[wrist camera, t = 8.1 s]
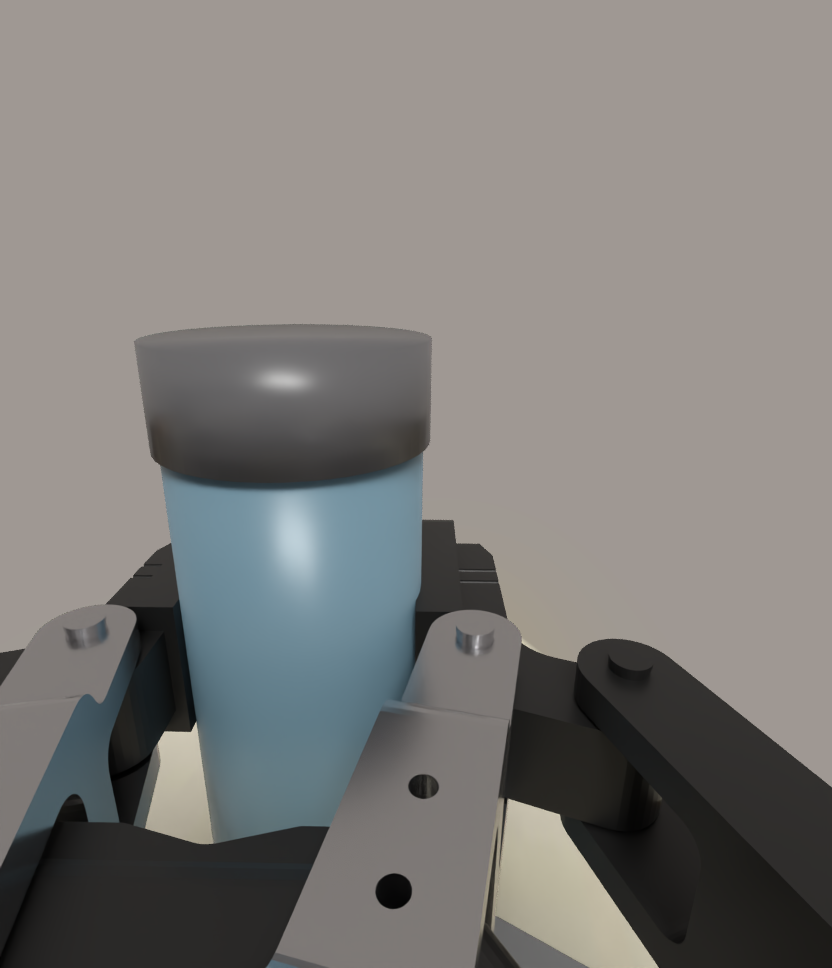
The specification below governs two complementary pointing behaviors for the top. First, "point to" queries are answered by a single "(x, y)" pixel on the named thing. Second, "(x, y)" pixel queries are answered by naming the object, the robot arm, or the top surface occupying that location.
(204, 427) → the bottle
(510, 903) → the top surface
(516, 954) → the grey picture frame
